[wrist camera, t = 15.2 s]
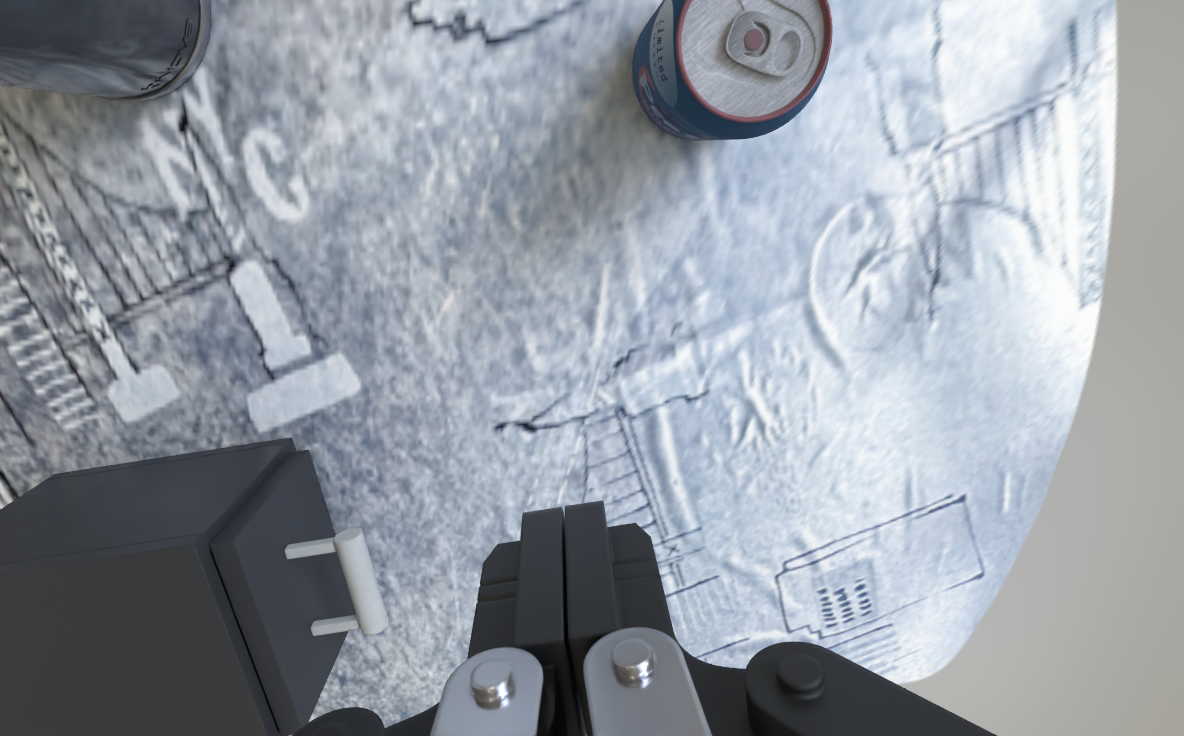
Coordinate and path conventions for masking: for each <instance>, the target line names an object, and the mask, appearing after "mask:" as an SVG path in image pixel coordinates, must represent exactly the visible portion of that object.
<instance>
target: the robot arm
mask: <svg viewBox="0 0 1184 736" xmlns="http://www.w3.org/2000/svg"><path fill="white" fill-rule="evenodd" d="M210 29H211V6H210V0H0V86H1V87H11V88H21V89H31V90H41V91H51V92H61V93H70V94H80V95H92V96H96V97H100V98H105V99H110V100H120V101H145V100H151V99H155V98H158V97H161V96H164V95H166V94H168V93H170V92H172V91H174V90H175V89H177V88H178V87H180V86H181V85H182V84H183V83H185V82H186V81H187V80H188V79H189V78H190V77H191V76H192V74H193V73H194V72H195V70H196V69H197V67H198V66H199V64H200V62H201V61H202V58H203V56H204V54H205V51H206V48H207V45H208V41H209V36H210ZM477 599H478V603H477V604H476V610H475V616H474V622H473V628H472V634H471V640H470V646H469V652H468V658H467V660H466V661H465V662H463V663H462V664H461V665H460V666H459V667H457V668H456V669H455V671H454V672H453V673H452V674H451V675H450V677H449V679H448V680H447V682H446V684H445V687H444V690H443V693H442V696H441V700H440V702H439V703H437V704H436V705H435V706H433V707H431V708H430V709H428V710H426V711H424V712H422V713H420V714H418V715H415V716H413V717H411V718H408V719H406V720H404V721H401V722H399V723H396V724H394V725H392V726H389V727H387V728H384V725H383V722H382V720H381V719H380V717H379V716H378V715H377V714H376V713H374V712H373V711H370V710H368V709H364V708H358V707H350V708H342V709H338V710H334V711H332V712H329V713H326V714H324V715H322V716H320V717H318V718H316V719H314V720H312V721H311V722H309V723H307V724H306V725H305V726H303V727H302V728H301V729H299V730H298V731H297V732H296V733H295V734H293V735H292V736H586V734H587V736H997V735H995V734H993V733H991V732H989V731H987V730H985V729H983V728H981V727H979V726H977V725H975V724H973V723H971V722H969V721H967V720H965V719H963V718H961V717H959V716H957V715H956V714H954V713H952V712H950V711H948V710H946V709H944V708H942V707H940V706H938V705H936V704H934V703H932V702H930V701H928V700H926V699H924V698H922V697H920V696H918V695H916V694H915V693H912V692H911V691H909V690H907V689H905V688H903V687H901V686H899V685H897V684H895V683H893V682H891V681H889V680H887V679H885V678H883V677H881V676H879V675H877V674H875V673H874V672H872V671H870V670H868V669H866V668H864V667H862V666H860V665H858V664H856V663H854V662H852V661H850V660H848V659H846V658H844V657H842V656H840V655H838V654H836V653H834V652H833V651H831V650H828V649H826V648H824V647H822V646H818V645H815V644H811V643H805V642H783V643H778V644H774V645H771V646H768V647H766V648H764V649H763V650H761V651H759V652H758V653H757V654H756V655H755V656H754V657H753V658H752V659H751V660H750V662H749V663H748V665H747V668H746V669H738V668H729V667H722V666H716V665H712V664H709V663H705V662H703V661H701V660H698V659H697V658H695V657H693V656H692V655H690V654H689V653H688V652H686V651H685V650H684V649H683V648H682V647H681V646H680V644H679V643H678V641H677V639H676V637H675V635H674V632H673V627H672V623H671V619H670V615H669V611H668V607H667V603H666V598H665V594H664V590H663V586H662V582H661V578H660V574H659V569H658V565H657V561H656V557H655V553H654V548H653V544H652V540H651V537H650V536H649V535H648V534H647V533H646V532H645V531H644V530H643V529H642V528H641V527H639V526H638V525H637V524H636V523H632V524H625V525H619V526H612V527H607V521H606V514H605V508H604V502H603V501H596V502H589V503H583V504H576V505H570V506H565V517H564V512H563V508H562V507H558V508H551V509H545V510H538V511H532V512H525V513H523V516H522V527H521V539H520V541H515V542H509V543H502V544H497V546H496V547H495V548H494V550H493V551H492V552H491V554H490V555H489V556H488V557H487V559H486V560H485V561H484V563H483V568H482V574H481V580H480V586H479V592H478V598H477Z"/></svg>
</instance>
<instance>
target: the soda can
mask: <svg viewBox="0 0 1184 736" xmlns="http://www.w3.org/2000/svg"><path fill="white" fill-rule="evenodd" d="M831 42H832V18H831V12H830V8H829V4H828V1H827V0H663V2H662V3H661V5H660V6H659V7H658V9H657V10H656V12H655V13H654V14H653V16H652V17H651V19H650V20H649V21H648V23H647V24H646V26H645V27H644V29H643V31H642V33H641V34H640V37H639V39H638V42H637V44H636V48H635V51H634V56H633V65H632V75H633V84H634V88H635V92H636V95H637V98H638V101H639V103H640V105H641V107H642V108H643V110H644V112H645V113H646V114H647V116H648V117H649V118H650V119H651V121H652V122H653V123H654V124H656V125H657V126H658V127H659V128H660V129H662V130H663V131H665V132H667V133H668V134H670V135H673V136H675V137H678V138H681V139H686V140H696V141H697V140H728V139H747V138H753V137H758V136H761V135H764V134H767V133H770V132H772V131H774V130H776V129H778V128H780V127H781V126H783V125H784V124H786V123H787V122H789V121H790V120H791V119H793V118H794V117H795V116H796V115H797V114H798V113H799V112H800V111H801V110H802V109H803V108H804V107H805V106H806V104H807V103H808V102H809V101H810V99H811V98H812V96H813V95H814V93H815V92H816V90H817V88H818V86H819V84H820V82H821V80H822V78H823V76H824V73H825V70H826V67H827V63H828V59H829V54H830V49H831Z"/></svg>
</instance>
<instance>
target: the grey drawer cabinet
mask: <svg viewBox="0 0 1184 736" xmlns="http://www.w3.org/2000/svg"><path fill="white" fill-rule="evenodd" d="M291 452H296V449H295V446H294V443H293V439H292V438H286V439H279V440H273V441H266V442H260V443H253V444H247V445H240V446H234V447H227V448H221V449H215V450H208V451H202V452H195V453H189V454H182V455H176V456H169V457H163V458H156V459H150V460H144V461H137V462H131V463H124V464H118V465H111V466H105V467H98V468H92V469H85V470H79V471H72V472H66V473H60V474H54V475H53V476H51V477H50V478H48V479H47V480H45V481H44V482H42V483H41V484H39V485H38V486H36V487H34V488H33V489H31V490H30V491H28V492H27V493H25V494H24V495H22V496H21V497H19V498H18V499H16V500H15V501H13V502H11V503H10V504H8V505H7V506H5V507H4V508H2V509H1V510H0V736H281V734H280V731H279V728H278V726H277V723H276V720H275V718H274V715H273V712H272V710H271V707H270V704H269V702H268V699H267V697H266V698H265V696H264V693H263V691H262V688H261V685H260V683H259V680H258V678H257V675H256V672H255V670H254V667H253V664H252V662H251V659H250V656H249V654H248V651H247V648H246V646H245V643H244V641H243V638H242V635H241V633H240V630H239V627H238V625H237V622H236V619H235V617H234V614H233V612H232V609H231V606H230V604H229V601H228V598H227V596H226V593H225V590H224V588H223V585H222V582H221V580H220V577H219V575H218V572H217V569H216V567H215V564H214V561H213V559H212V556H211V553H210V551H209V549H210V546H209V543H210V542H211V541H212V540H213V539H214V538H215V537H216V536H217V534H218V533H219V532H220V531H221V530H222V529H223V528H224V526H225V525H226V524H227V523H228V522H229V521H230V520H231V519H232V517H233V516H234V515H235V514H236V513H237V512H238V511H239V509H240V508H241V507H242V506H243V505H244V504H245V503H246V502H247V500H248V499H249V498H250V497H251V496H252V495H253V494H254V492H255V491H256V490H257V489H258V488H259V487H260V486H261V485H262V483H263V482H264V481H265V480H266V479H267V478H268V477H269V475H270V474H271V473H272V472H273V471H274V470H275V469H276V468H277V466H278V465H279V464H280V463H281V462H282V461H283V460H284V458H285V457H286V456H287V455H288V454H289V453H291ZM285 736H288V735H285Z"/></svg>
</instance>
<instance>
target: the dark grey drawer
mask: <svg viewBox="0 0 1184 736" xmlns="http://www.w3.org/2000/svg"><path fill="white" fill-rule="evenodd" d="M209 546H210V549H209V551H210V553H211V556H212V559H213V561H214V564H215V567H216V569H217V572H218V575H219V577H220V580H221V582H222V585H223V588H224V590H225V593H226V596H227V598H228V601H229V604H230V606H231V609H232V612H233V614H234V617H235V619H236V622H237V625H238V627H239V630H240V633H241V635H242V638H243V641H244V643H245V646H246V648H247V651H248V654H249V656H250V659H251V662H252V664H253V667H254V670H255V672H256V675H257V678H258V680H259V683H260V685H261V688H262V691H263V693H264V696H265V698H266V697H267V699H268V702H269V704H270V707H271V710H272V712H273V715H274V718H275V720H276V723H277V726H278V728H279V731H280V734H281V736H285V735H292V734H295V733H296V732H297V731H298V730H299V729H301V728H302V727H303V726H305V725H306V724H307V723H308V722H309V719H310V717H311V715H312V713H313V710H314V708H315V706H316V704H317V701H318V699H319V697H320V694H321V692H322V690H323V688H324V685H325V683H326V681H327V679H328V676H329V674H330V672H331V669H332V667H333V665H334V663H335V660H336V658H337V656H338V654H339V651H340V649H341V647H342V644H343V642H344V640H345V638H346V635H347V633H348V631H350V630H357V629H360V628H361V631H362V633H363V634H365V635H375V634H378V633H380V632H382V631H383V630H384V629H385V628H386V627H387V626H388V623H389V620H388V616H387V613H386V610H385V606H384V603H383V599H382V596H381V593H380V589H379V586H378V582H377V579H376V575H375V572H374V569H373V565H372V562H371V558H370V555H369V552H368V548H367V545H366V541H365V538H364V535H363V531H362V530H361V529H360V528H358V527H352V528H348V529H345V530H342V531H340V532H339V533H337V534H336V535H335V533H334V530H333V527H332V524H331V520H330V517H329V514H328V511H327V508H326V504H325V501H324V498H323V495H322V491H321V488H320V485H319V482H318V478H317V475H316V472H315V469H314V465H313V462H312V459H311V456H310V452H309V450H304V451H298V452H291V453H289V454H288V455H287V456H286V457H285V458H284V460H283V461H282V462H281V463H280V464H279V465H278V466H277V468H276V469H275V470H274V471H273V472H272V473H271V474H270V475H269V477H268V478H267V479H266V480H265V481H264V482H263V483H262V485H261V486H260V487H259V488H258V489H257V490H256V491H255V492H254V494H253V495H252V496H251V497H250V498H249V499H248V500H247V502H246V503H245V504H244V505H243V506H242V507H241V508H240V509H239V511H238V512H237V513H236V514H235V515H234V516H233V517H232V519H231V520H230V521H229V522H228V523H227V524H226V525H225V526H224V528H223V529H222V530H221V531H220V532H219V533H218V534H217V536H216V537H215V538H214V539H213V540H212V541H211V542H210V543H209Z"/></svg>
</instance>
